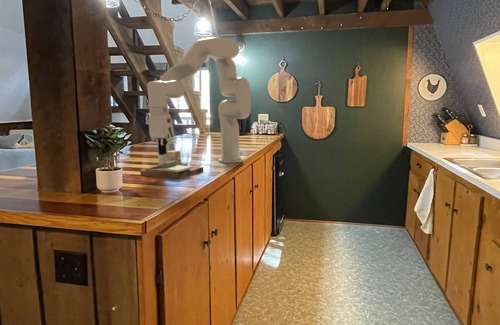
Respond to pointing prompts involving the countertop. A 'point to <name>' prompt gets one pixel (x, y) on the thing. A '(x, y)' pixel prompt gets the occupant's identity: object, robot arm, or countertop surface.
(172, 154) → the block
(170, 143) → the milk bottle
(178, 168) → the lid
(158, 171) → the board
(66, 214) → the countertop surface
